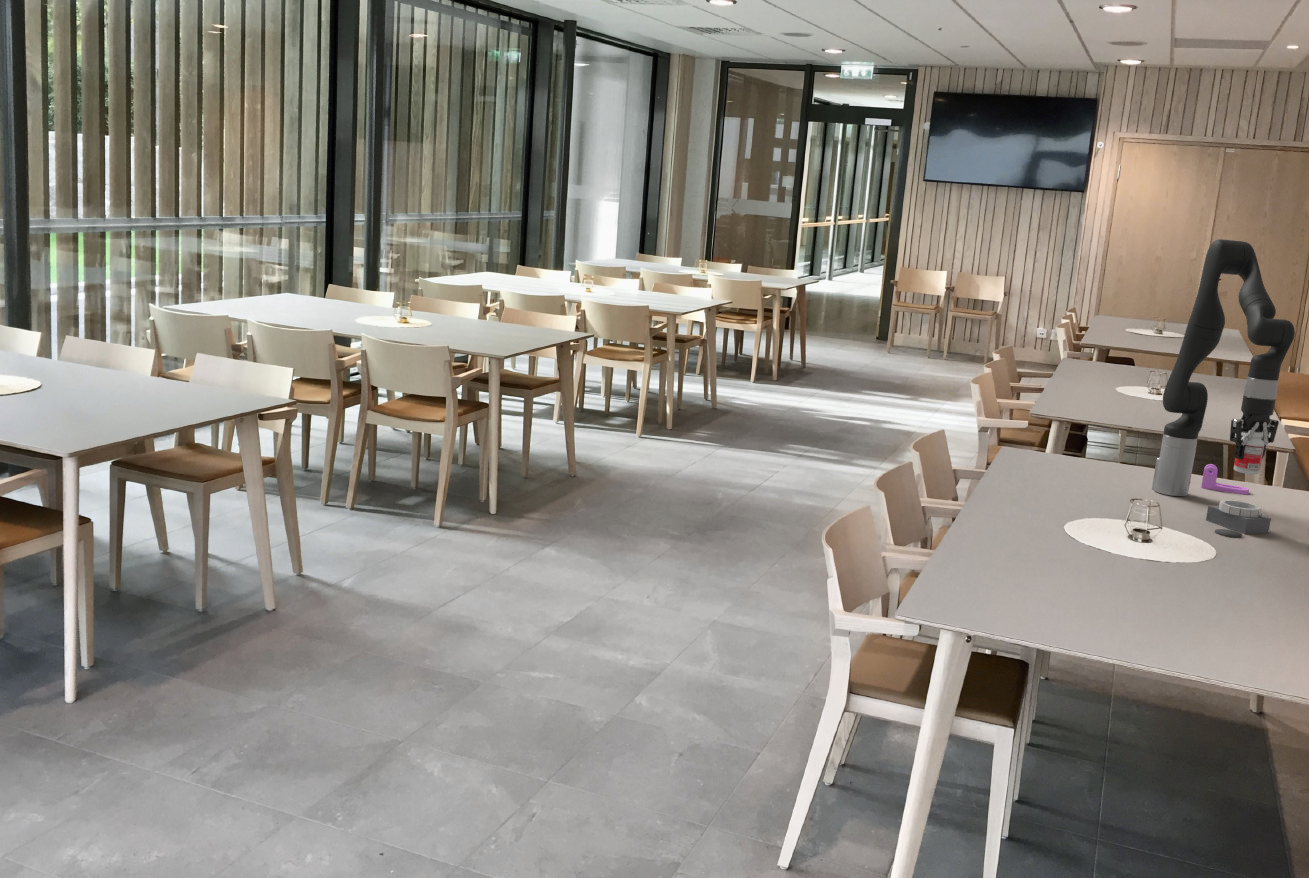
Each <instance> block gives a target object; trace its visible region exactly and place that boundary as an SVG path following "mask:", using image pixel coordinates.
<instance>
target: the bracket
mask: <svg viewBox="0 0 1309 878" xmlns="http://www.w3.org/2000/svg"><path fill="white" fill-rule="evenodd" d="M1218 471H1219V470H1218V467H1217V466H1216V465H1215V464H1212V463H1209V464H1206V465H1205V466H1204V468H1203V474H1202V479H1201V486H1200V489H1206V490H1212V491H1218V492H1226V493H1233V494H1238V495H1249V493H1250V488H1247V487H1244V486H1242V485H1241V486H1239V485H1234V484H1227V483H1221V482H1217V478H1218Z"/></svg>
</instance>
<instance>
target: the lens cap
mask: <svg viewBox="0 0 1309 878" xmlns="http://www.w3.org/2000/svg"><path fill="white" fill-rule="evenodd" d="M1214 533H1215V534H1216V535H1218V536H1222V537H1225V538H1234V539H1240V538H1242V537H1243V533H1240V532H1238V531H1235V530H1232V529H1226V528H1217V529H1214Z"/></svg>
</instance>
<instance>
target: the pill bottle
mask: <svg viewBox="0 0 1309 878" xmlns="http://www.w3.org/2000/svg"><path fill="white" fill-rule="evenodd" d="M1243 433H1248V432H1245V431H1244V432H1243ZM1261 438H1263V432H1254V433H1253V435H1252V436H1251V438H1249V439H1248V440H1247V442H1246V444H1245V451H1244V457H1243V459H1237V458H1235V457H1234V459H1235V460H1234V464H1233V471H1235V472H1238V473H1241V474H1246V475H1257V474H1258V475H1259V474H1260V471H1261V467H1262V461H1263V459H1262V456H1263V451H1264V445H1265V443H1264V441H1263V440H1261ZM1242 439H1243V437H1242ZM1242 439H1241V440H1242Z"/></svg>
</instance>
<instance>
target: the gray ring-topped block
mask: <svg viewBox="0 0 1309 878" xmlns="http://www.w3.org/2000/svg"><path fill="white" fill-rule="evenodd" d="M1267 515H1268V514H1267V513H1262V507H1261V506H1259V505H1258V504H1256V503H1251V502H1248V501H1242V500H1234V499H1221V500H1220V501H1219V505H1217V504H1216V505H1207V511H1206V517H1205V521H1208V522H1210V523H1212V524H1216V525H1217V526H1218V525H1219V526H1222V527H1224V528H1227V529H1228V530H1232V531H1236V532H1239V533H1241V534H1242V535H1248V534H1249V535H1253V534H1254V535H1255V534H1257V535H1258V534H1269V531H1270V525H1271V521H1272V518H1271V517H1268V516H1267Z"/></svg>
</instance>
